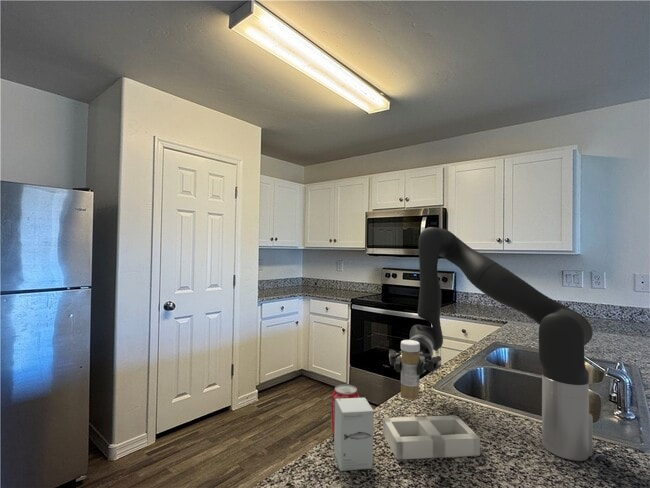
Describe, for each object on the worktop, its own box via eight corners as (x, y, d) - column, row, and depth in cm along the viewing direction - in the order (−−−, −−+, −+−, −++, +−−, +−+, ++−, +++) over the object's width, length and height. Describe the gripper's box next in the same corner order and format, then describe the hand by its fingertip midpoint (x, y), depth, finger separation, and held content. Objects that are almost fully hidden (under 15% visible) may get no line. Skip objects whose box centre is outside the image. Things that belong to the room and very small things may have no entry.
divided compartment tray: (456, 430, 90) (456, 415, 90) (479, 455, 79) (480, 438, 79) (382, 433, 87) (383, 418, 88) (396, 459, 77) (396, 441, 77)
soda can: (352, 427, 90) (353, 382, 91) (363, 441, 84) (364, 392, 84) (327, 431, 88) (328, 384, 88) (336, 446, 81) (337, 395, 82)
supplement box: (339, 472, 72) (340, 412, 72) (333, 452, 79) (334, 397, 79) (373, 469, 73) (374, 410, 73) (364, 449, 80) (365, 396, 80)
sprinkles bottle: (406, 391, 86) (406, 338, 86) (422, 396, 83) (423, 341, 83) (396, 396, 83) (397, 341, 83) (413, 402, 80) (414, 345, 80)
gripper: (393, 334, 99) (378, 349, 83) (445, 340, 93) (439, 358, 78) (393, 359, 99) (378, 380, 83) (445, 367, 93) (439, 391, 78)
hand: (408, 369), depth 81 cm, fingers closed on sprinkles bottle, 4 cm apart
